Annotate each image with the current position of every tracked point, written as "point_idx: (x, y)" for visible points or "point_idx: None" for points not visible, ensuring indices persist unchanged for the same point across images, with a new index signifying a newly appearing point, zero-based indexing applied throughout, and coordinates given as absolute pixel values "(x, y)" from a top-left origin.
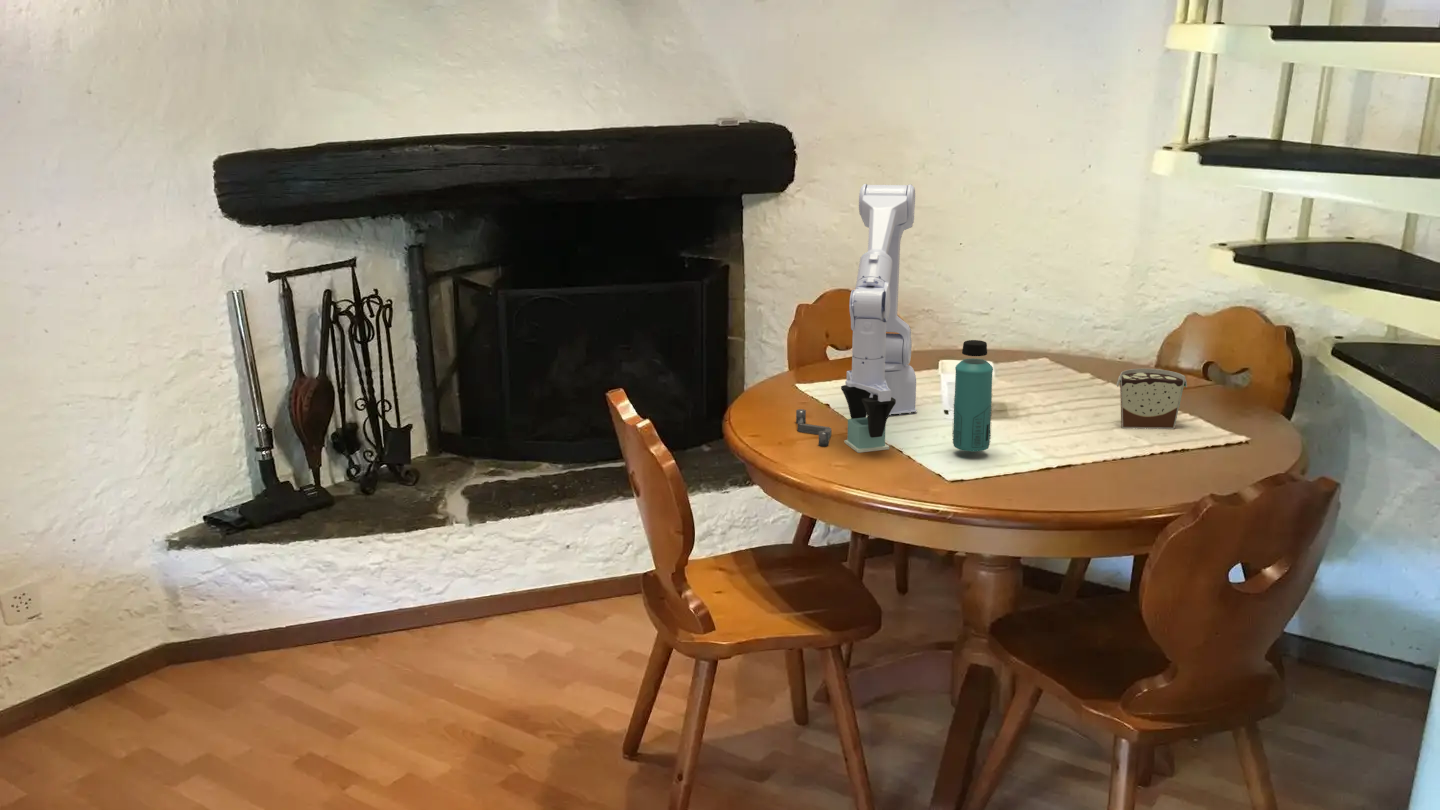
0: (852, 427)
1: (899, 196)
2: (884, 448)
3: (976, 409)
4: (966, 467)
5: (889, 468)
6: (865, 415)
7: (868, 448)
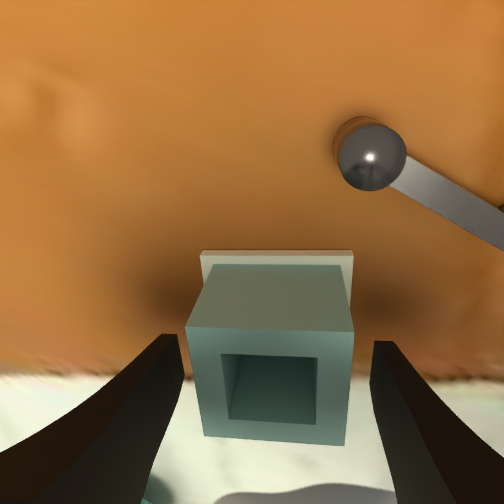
0: (280, 311)
1: None
2: None
3: None
4: None
5: (19, 282)
6: (378, 426)
7: None
